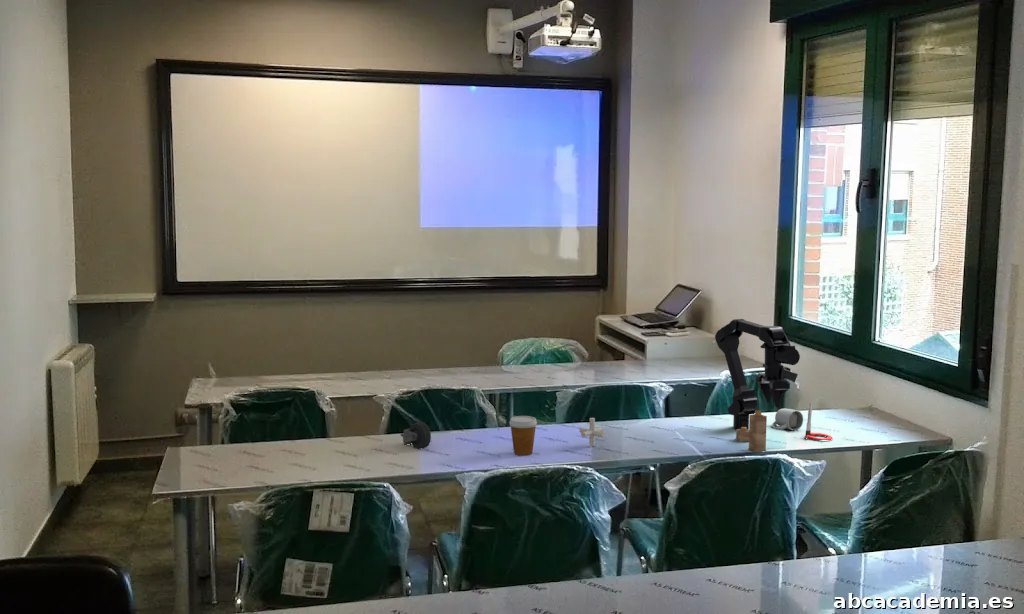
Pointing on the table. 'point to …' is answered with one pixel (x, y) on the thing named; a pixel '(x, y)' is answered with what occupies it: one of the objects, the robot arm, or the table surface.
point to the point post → (757, 432)
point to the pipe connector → (592, 432)
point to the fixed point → (742, 434)
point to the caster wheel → (417, 435)
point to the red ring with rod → (808, 428)
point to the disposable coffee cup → (523, 434)
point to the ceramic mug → (788, 419)
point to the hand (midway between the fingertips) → (772, 404)
